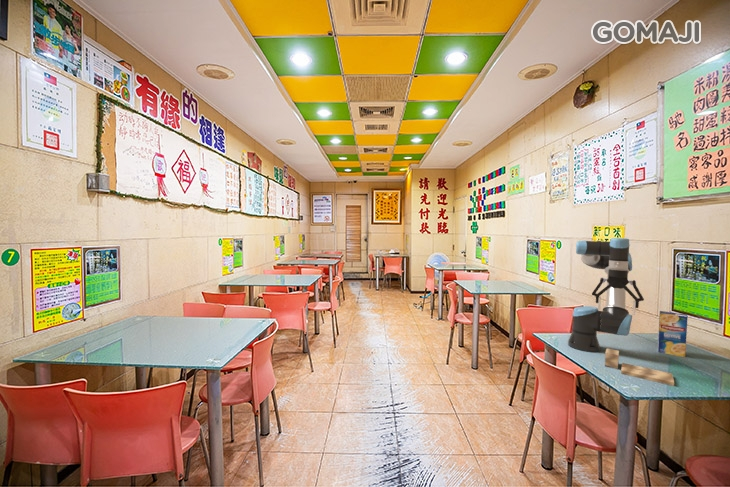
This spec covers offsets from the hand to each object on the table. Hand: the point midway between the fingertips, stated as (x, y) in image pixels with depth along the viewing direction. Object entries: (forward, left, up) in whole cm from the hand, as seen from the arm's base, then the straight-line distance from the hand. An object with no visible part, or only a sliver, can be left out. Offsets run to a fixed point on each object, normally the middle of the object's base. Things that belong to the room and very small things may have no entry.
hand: (616, 312), depth 160 cm
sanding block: (-1, 0, -27) cm, 27 cm away
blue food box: (+23, +45, -27) cm, 57 cm away
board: (+12, -3, -27) cm, 30 cm away
